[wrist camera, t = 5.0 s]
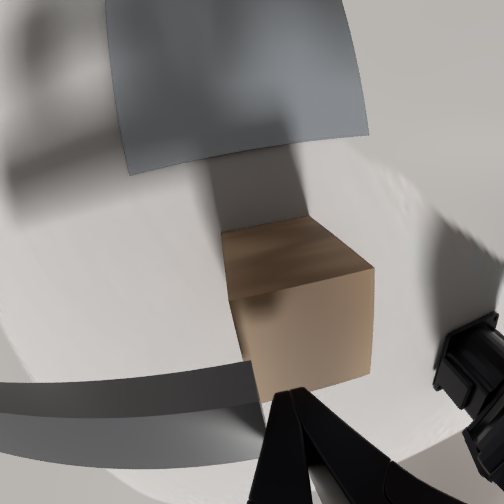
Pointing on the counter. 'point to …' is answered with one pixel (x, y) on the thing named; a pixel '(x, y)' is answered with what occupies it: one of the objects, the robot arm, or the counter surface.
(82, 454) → the grey rectangular bar
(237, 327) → the wooden block
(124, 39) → the pad
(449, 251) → the counter surface
